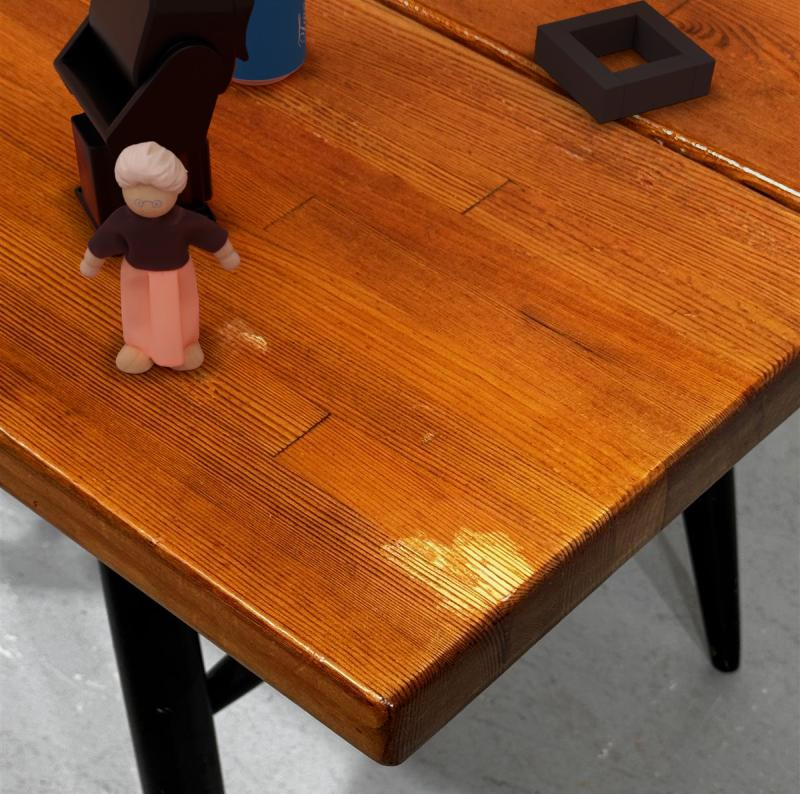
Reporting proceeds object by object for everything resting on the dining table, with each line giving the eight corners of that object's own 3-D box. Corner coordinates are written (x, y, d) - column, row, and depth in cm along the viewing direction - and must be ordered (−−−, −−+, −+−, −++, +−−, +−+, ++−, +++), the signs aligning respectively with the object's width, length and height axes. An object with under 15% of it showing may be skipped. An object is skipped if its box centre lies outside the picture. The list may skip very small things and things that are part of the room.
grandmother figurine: (102, 392, 73) (68, 182, 64) (91, 343, 76) (56, 134, 67) (252, 366, 75) (239, 158, 66) (236, 319, 77) (222, 112, 68)
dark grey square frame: (600, 124, 91) (605, 89, 89) (533, 60, 96) (536, 25, 94) (709, 94, 94) (716, 59, 92) (638, 33, 99) (643, -1, 97)
